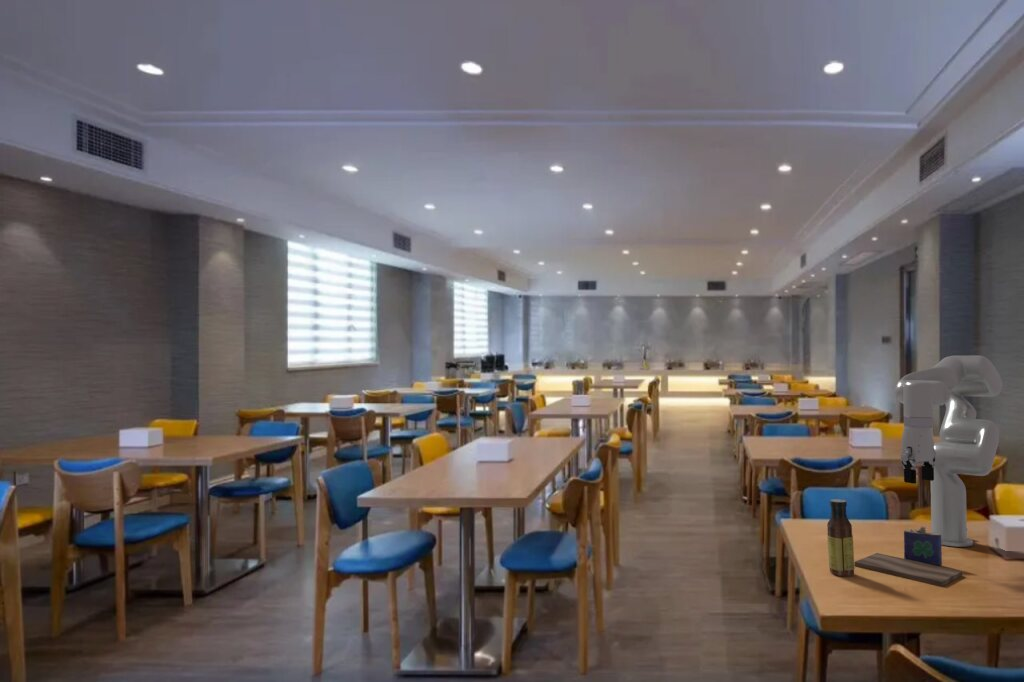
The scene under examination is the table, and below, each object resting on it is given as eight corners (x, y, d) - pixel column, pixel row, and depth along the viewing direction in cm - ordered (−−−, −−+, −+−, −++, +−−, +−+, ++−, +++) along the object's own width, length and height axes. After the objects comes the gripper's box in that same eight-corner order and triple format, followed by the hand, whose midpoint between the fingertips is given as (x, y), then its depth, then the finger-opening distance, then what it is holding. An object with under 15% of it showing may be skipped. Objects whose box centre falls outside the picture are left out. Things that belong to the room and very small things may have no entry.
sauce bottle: (852, 571, 185) (851, 498, 186) (856, 578, 179) (855, 503, 180) (826, 569, 187) (825, 497, 188) (829, 576, 181) (828, 501, 182)
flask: (941, 564, 191) (940, 526, 192) (942, 567, 189) (942, 529, 189) (903, 560, 195) (903, 523, 196) (904, 563, 193) (904, 525, 193)
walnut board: (876, 556, 199) (876, 552, 199) (962, 575, 182) (962, 571, 182) (854, 566, 190) (854, 561, 190) (942, 586, 173) (941, 581, 173)
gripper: (920, 421, 207) (921, 477, 207) (889, 423, 198) (890, 482, 198) (947, 423, 201) (947, 480, 200) (915, 425, 192) (916, 486, 191)
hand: (919, 481), depth 199 cm, fingers open, 9 cm apart
